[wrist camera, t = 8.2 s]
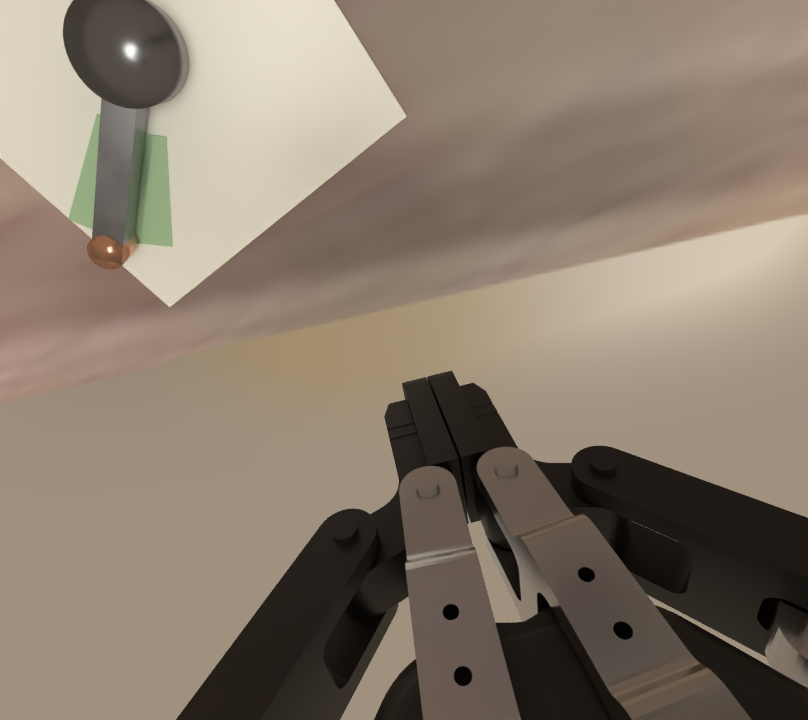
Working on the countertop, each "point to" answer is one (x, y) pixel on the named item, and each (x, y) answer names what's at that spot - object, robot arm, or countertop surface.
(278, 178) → the dial plate
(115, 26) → the metal serving spoon
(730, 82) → the countertop surface
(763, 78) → the countertop surface
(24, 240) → the countertop surface
